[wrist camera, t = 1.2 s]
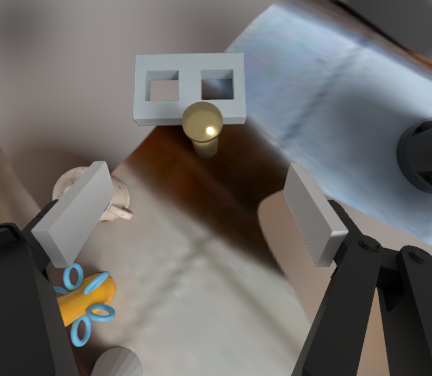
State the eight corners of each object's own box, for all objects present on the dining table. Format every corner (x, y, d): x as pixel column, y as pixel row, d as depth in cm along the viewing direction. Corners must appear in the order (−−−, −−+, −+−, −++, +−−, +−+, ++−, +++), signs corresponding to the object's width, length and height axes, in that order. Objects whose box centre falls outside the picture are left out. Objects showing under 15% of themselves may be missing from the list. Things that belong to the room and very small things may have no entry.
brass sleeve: (220, 132, 45) (222, 101, 33) (221, 162, 44) (223, 140, 32) (190, 133, 45) (181, 101, 33) (190, 162, 44) (181, 140, 32)
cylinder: (67, 263, 41) (-18, 286, 26) (121, 249, 41) (68, 265, 27) (76, 332, 39) (-9, 399, 24) (133, 317, 40) (83, 373, 25)
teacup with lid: (76, 209, 43) (24, 204, 31) (101, 169, 44) (60, 150, 32) (128, 238, 42) (95, 245, 30) (153, 197, 43) (129, 188, 31)
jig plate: (241, 63, 47) (243, 52, 44) (244, 123, 45) (246, 116, 42) (140, 65, 47) (135, 54, 44) (138, 125, 45) (132, 119, 42)
